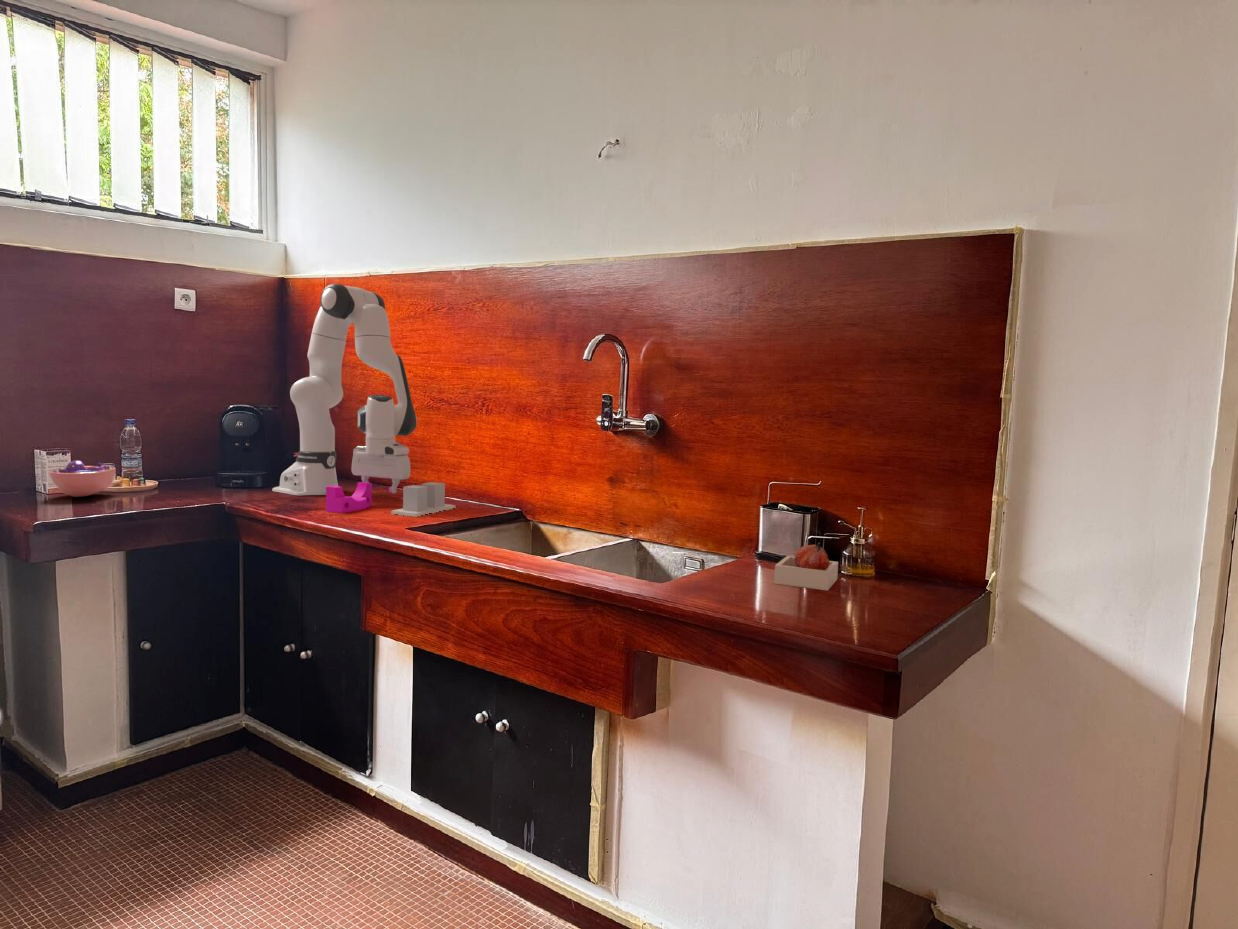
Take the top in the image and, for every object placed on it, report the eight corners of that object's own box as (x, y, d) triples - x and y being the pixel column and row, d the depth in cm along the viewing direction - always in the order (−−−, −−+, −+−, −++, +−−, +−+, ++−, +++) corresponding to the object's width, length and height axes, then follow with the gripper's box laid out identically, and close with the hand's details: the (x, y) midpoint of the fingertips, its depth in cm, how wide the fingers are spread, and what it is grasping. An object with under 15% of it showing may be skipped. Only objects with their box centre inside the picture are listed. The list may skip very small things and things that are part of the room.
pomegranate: (783, 572, 193) (795, 532, 190) (813, 574, 195) (825, 534, 192) (797, 589, 187) (809, 548, 183) (827, 591, 188) (840, 550, 185)
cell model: (131, 493, 280) (131, 457, 278) (83, 501, 260) (82, 463, 259) (85, 489, 282) (84, 455, 281) (34, 498, 263) (32, 460, 262)
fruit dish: (773, 583, 188) (774, 565, 188) (786, 573, 198) (787, 555, 198) (827, 590, 183) (828, 572, 183) (837, 579, 194) (838, 561, 193)
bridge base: (391, 514, 257) (391, 487, 257) (431, 505, 276) (431, 480, 275) (416, 517, 254) (416, 489, 253) (455, 508, 272) (455, 482, 271)
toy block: (341, 513, 257) (341, 488, 256) (326, 511, 259) (326, 486, 259) (377, 507, 270) (377, 483, 269) (362, 505, 273) (362, 481, 272)
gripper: (346, 446, 271) (346, 490, 272) (400, 450, 263) (400, 495, 264) (360, 444, 277) (360, 487, 278) (413, 448, 269) (413, 493, 270)
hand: (380, 491), depth 271 cm, fingers open, 8 cm apart
